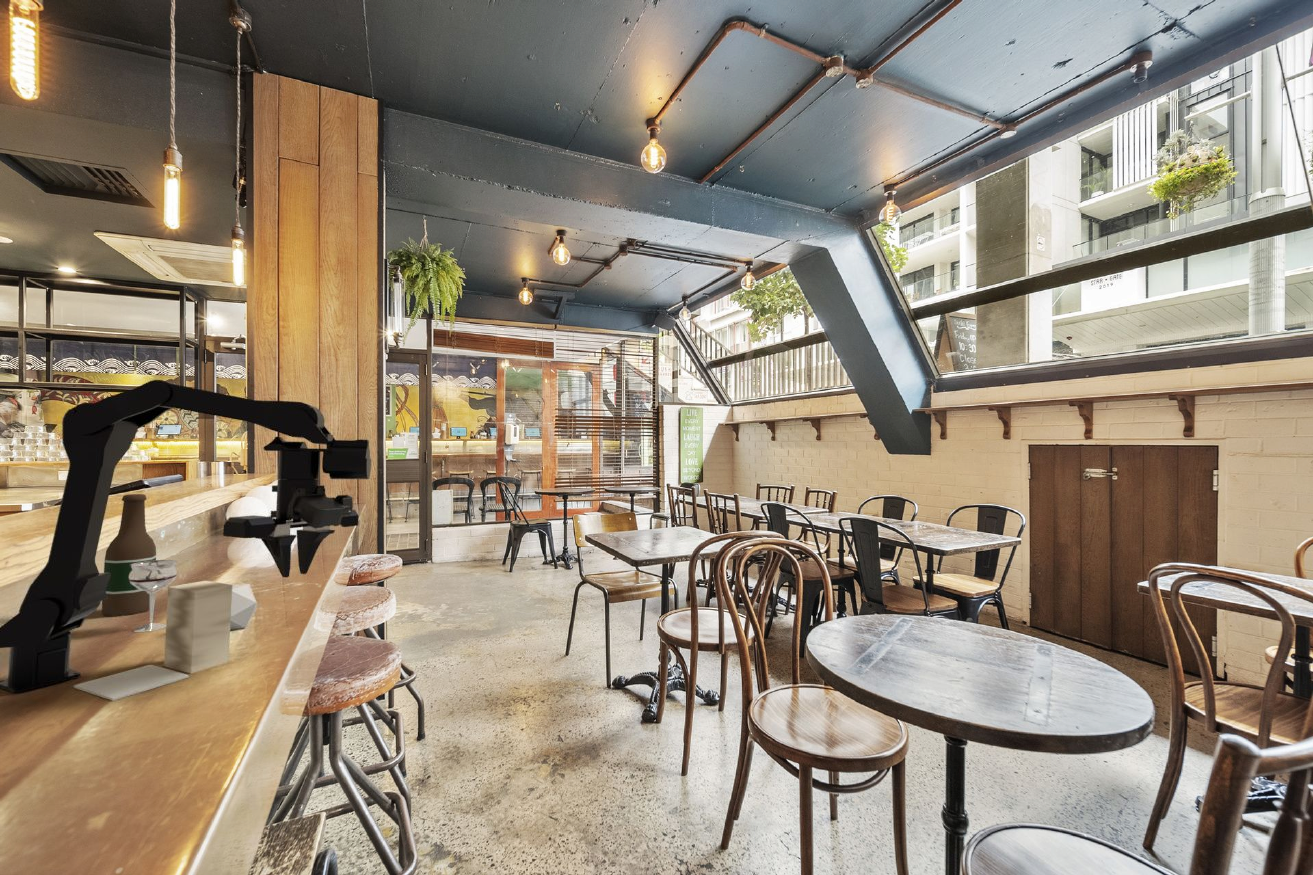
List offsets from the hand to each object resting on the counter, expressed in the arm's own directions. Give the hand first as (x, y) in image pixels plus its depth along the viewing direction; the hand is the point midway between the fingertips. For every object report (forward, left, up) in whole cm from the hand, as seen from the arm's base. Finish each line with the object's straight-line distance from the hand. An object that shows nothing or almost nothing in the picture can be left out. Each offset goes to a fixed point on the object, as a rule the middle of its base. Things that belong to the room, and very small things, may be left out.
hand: (294, 575), depth 88 cm
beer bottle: (-55, +3, -13) cm, 57 cm away
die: (-25, +5, -13) cm, 29 cm away
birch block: (-10, -8, -13) cm, 18 cm away
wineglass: (-38, -1, -13) cm, 40 cm away
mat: (-10, -16, -13) cm, 23 cm away
